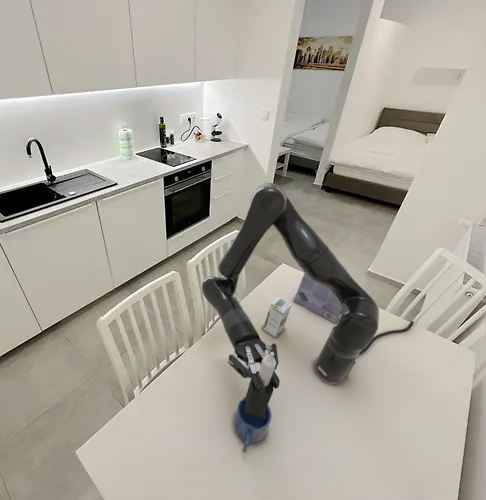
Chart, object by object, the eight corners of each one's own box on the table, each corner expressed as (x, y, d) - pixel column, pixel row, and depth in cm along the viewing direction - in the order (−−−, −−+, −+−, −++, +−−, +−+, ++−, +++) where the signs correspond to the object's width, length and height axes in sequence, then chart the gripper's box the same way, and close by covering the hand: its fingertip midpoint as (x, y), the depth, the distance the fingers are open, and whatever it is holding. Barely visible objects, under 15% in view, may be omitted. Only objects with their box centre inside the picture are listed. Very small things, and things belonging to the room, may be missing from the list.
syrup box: (270, 321, 115) (277, 296, 106) (283, 329, 112) (292, 304, 103) (262, 329, 112) (269, 304, 103) (276, 338, 108) (284, 313, 100)
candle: (264, 417, 74) (285, 365, 59) (244, 413, 75) (260, 361, 60) (264, 398, 78) (283, 345, 63) (245, 394, 79) (260, 340, 64)
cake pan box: (342, 318, 117) (357, 287, 106) (337, 325, 114) (353, 294, 103) (297, 295, 127) (308, 264, 116) (292, 301, 124) (303, 270, 113)
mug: (239, 405, 88) (242, 390, 83) (268, 418, 86) (274, 403, 80) (227, 448, 79) (230, 434, 74) (259, 463, 76) (265, 450, 71)
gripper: (216, 326, 75) (245, 389, 61) (264, 314, 78) (301, 372, 65) (214, 343, 79) (240, 405, 66) (260, 331, 82) (293, 388, 69)
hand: (270, 388), depth 65 cm, fingers closed on candle, 3 cm apart
